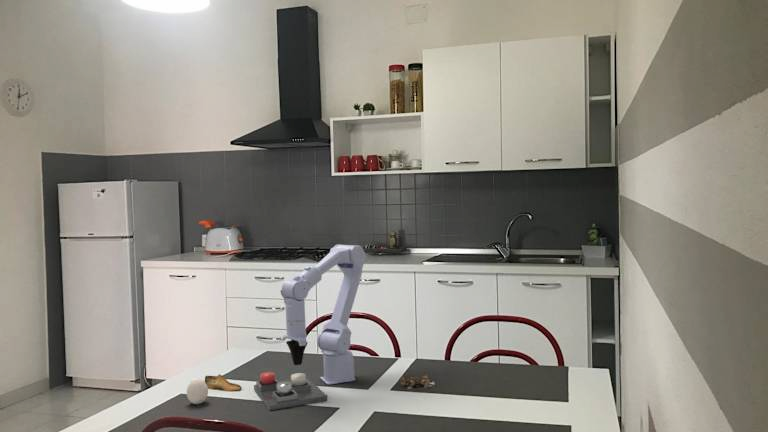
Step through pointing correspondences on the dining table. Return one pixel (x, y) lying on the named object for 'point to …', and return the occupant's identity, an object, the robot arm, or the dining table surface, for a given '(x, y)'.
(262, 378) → the red button
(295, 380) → the ivory button
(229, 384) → the shoe last
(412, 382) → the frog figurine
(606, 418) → the dining table surface
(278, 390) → the steel button
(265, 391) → the slate panel
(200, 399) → the egg
